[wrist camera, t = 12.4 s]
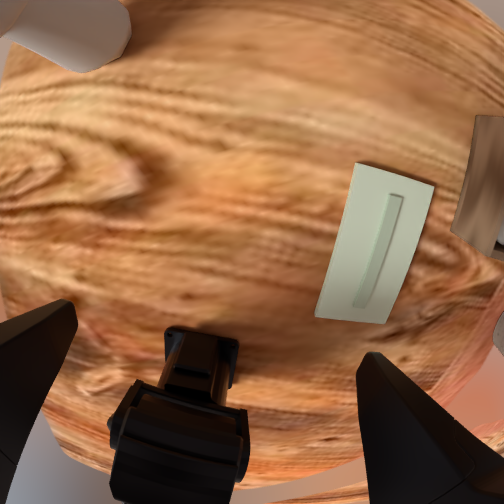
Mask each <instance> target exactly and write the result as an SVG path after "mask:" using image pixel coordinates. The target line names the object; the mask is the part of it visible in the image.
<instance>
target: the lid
mask: <svg viewBox="0 0 504 504" xmlns="http://www.w3.org/2000/svg"><path fill="white" fill-rule="evenodd" d="M433 190H434V187H433V186H431V185H428V184H425V183H422V182H419V181H416V180H413V179H410V178H407V177H404V176H401V175H398V174H395V173H391V172H388V171H385V170H381V169H378V168H374V167H371V166H367V165H364V164H360V163H356V162H355V167H354V171H353V176H352V180H351V184H350V188H349V193H348V197H347V201H346V205H345V209H344V213H343V217H342V221H341V224H340V228H339V232H338V235H337V239H336V243H335V246H334V250H333V253H332V257H331V260H330V264H329V267H328V270H327V274H326V277H325V280H324V283H323V287H322V290H321V293H320V296H319V299H318V302H317V305H316V308H315V312H314V313H315V317H319V318H328V319H337V320H346V321H356V322H366V323H377V324H385V323H386V321H387V318H388V316H389V314H390V312H391V310H392V307H393V305H394V303H395V300H396V298H397V296H398V293H399V291H400V289H401V286H402V284H403V281H404V279H405V276H406V274H407V271H408V268H409V266H410V263H411V260H412V258H413V255H414V252H415V249H416V246H417V244H418V241H419V238H420V235H421V231H422V228H423V225H424V222H425V219H426V215H427V212H428V209H429V205H430V201H431V198H432V194H433Z"/></svg>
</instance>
